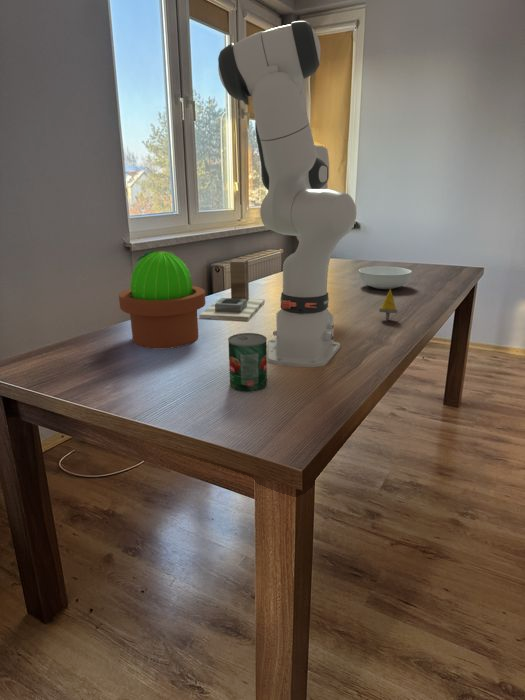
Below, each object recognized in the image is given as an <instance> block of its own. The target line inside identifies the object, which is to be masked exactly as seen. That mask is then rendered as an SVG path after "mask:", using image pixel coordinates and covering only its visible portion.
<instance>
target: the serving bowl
mask: <svg viewBox="0 0 525 700" xmlns="http://www.w3.org/2000/svg"><path fill="white" fill-rule="evenodd" d="M412 271H413V270H411V269H409V268H404V267H397V266H369V267H368V266H367V267H362V268H360V269H359V268H358V277H359V280H360V281H361V282H362V283H363V284H364V285H366V286H369V287H372V288H374V289H378V290H390V289H391V290H393V289H395V288H399V287H402V286H404V285H406V284H407V283H408V282H409V281H410V279H411V277H412V273H413V272H412Z"/></svg>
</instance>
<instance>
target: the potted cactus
mask: <svg viewBox="0 0 525 700" xmlns="http://www.w3.org/2000/svg"><path fill="white" fill-rule="evenodd" d="M178 256H179V255H177V256H176V255H175V254H174V251H170V250H166V251H165V250H161V251H160V250H158V251H157V250H152V251H147V252H145V253H143V254H142V256H140V257H138V258H137V259H136V261H137V262H136V264H135V266H134V267H133V269H132V273H131V274H130V275H131V279H130V280H131V281H130V288H128V289H125V290H123V291H121V292H120V293H119V294H118V299H119V300H118V301H119V309H120V310H121V311H122V312H124V313H127V314H129V317H130V318H129V319H130V328H131V335H132V336H131V337H132V342H133V343H134V344H135V345H136V344H137V346H138V347H141V346H142V348H146V347H147V349H153V348H166V349H172V348H171V347H174V348H178V347H177V346H180V347H183V346H182V345H184V346H187V345H190V344H192V343H194V342H196V341H197V340H198V339H199V323H198V322H199V321H198V310H200V309H202V308H203V307H205V306H206V291H205V289H203V288H202V287H200V286H195V285H193V282H192V278H191V277H194V276H193V275H192V274H190V269H189V268H188V265H187V264H188V262H186V263H185V262H184V261H183V258H180V256H179V257H178ZM191 342H192V343H191ZM189 343H190V344H189ZM186 344H187V345H186Z"/></svg>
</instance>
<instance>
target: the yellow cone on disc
mask: <svg viewBox="0 0 525 700" xmlns="http://www.w3.org/2000/svg"><path fill="white" fill-rule="evenodd" d="M378 311H379V312H380V313H385V320H386V322H388V321H389V319H390V315H391V314H397V313H398V309H397V308H396V304H395V300H394V297H393V292H392V289H388V292H387V295H386V297H385V299H384V301H383V303H382V304H381V308H379V310H378Z"/></svg>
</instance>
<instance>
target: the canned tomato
mask: <svg viewBox="0 0 525 700" xmlns="http://www.w3.org/2000/svg"><path fill="white" fill-rule="evenodd" d="M227 341H228V361H229V363H228V364H229V365H228V367H229V369H228V371H229V385H230V388H231V389H232V390H234V391H237V392H241V393H254V392H259V391H262V390H263V389H266V388H267V386H268V363H267V362H268V344H267V341H268V339H267V337H266V336H265V335H264V334H260V333H257V332H256V333H255V332H242V333H241V332H240V333H236V334H233V335H231V336H229V337H228V339H227Z"/></svg>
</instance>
